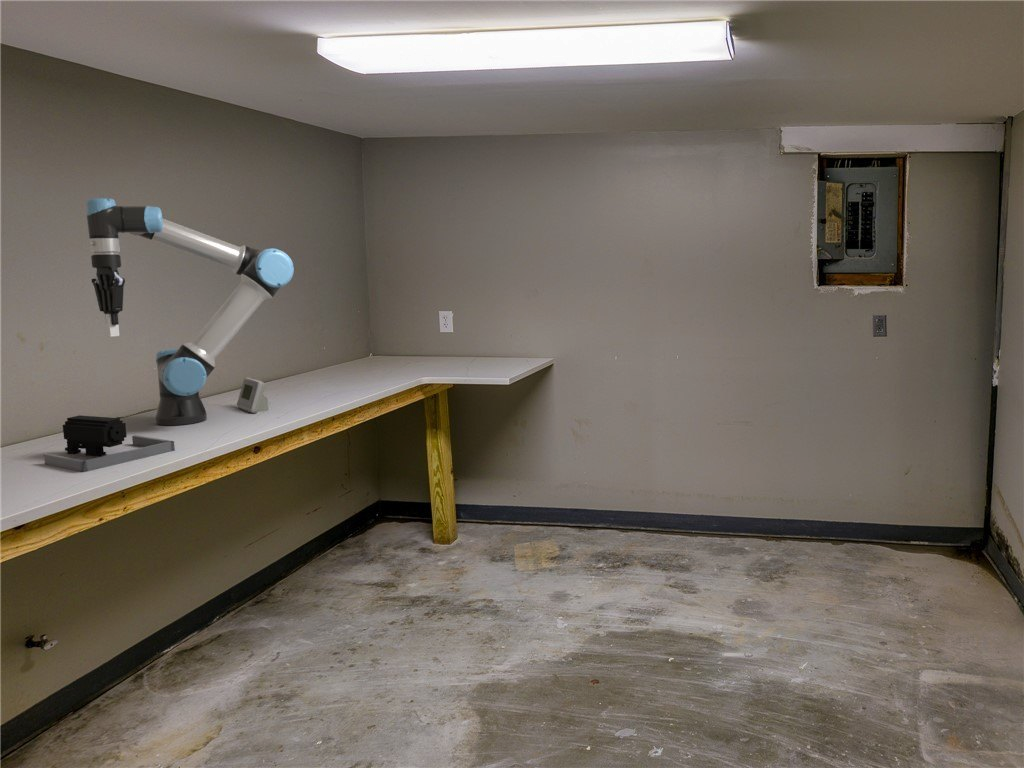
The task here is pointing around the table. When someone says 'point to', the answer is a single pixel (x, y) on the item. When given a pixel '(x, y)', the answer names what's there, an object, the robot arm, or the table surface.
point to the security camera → (93, 434)
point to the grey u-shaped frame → (114, 455)
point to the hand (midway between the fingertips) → (113, 336)
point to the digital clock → (252, 396)
